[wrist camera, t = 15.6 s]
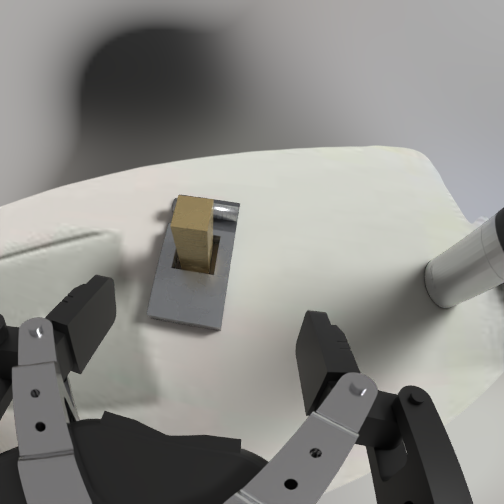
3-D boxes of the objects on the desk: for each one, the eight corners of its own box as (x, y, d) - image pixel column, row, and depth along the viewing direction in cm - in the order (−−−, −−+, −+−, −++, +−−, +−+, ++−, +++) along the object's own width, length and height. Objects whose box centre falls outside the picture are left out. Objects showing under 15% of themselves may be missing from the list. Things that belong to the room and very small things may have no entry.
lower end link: (239, 207, 42) (241, 195, 39) (226, 292, 37) (227, 285, 34) (180, 199, 42) (178, 186, 39) (158, 281, 36) (154, 273, 33)
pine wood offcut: (212, 249, 39) (213, 199, 28) (208, 274, 37) (207, 231, 27) (187, 245, 39) (178, 195, 28) (182, 270, 37) (170, 226, 26)
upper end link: (233, 240, 40) (235, 232, 38) (220, 330, 35) (221, 327, 32) (171, 231, 39) (168, 222, 37) (150, 318, 34) (146, 314, 32)
